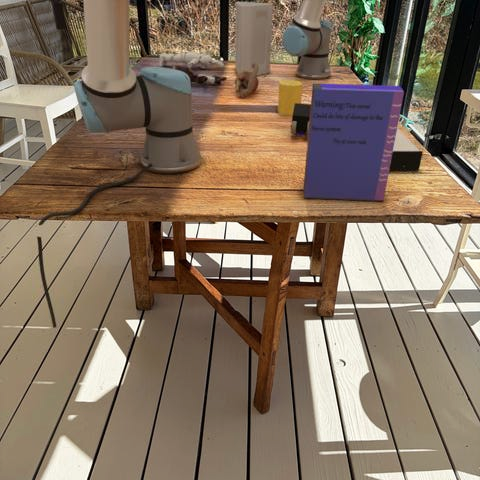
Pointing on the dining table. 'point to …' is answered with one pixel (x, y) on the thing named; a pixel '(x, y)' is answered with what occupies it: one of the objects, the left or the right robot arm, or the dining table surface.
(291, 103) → the tin
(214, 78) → the figurine
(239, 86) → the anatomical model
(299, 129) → the figurine character
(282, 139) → the dining table surface
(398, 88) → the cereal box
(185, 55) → the toy
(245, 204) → the dining table surface
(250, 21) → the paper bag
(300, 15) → the right robot arm
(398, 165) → the disc drive
